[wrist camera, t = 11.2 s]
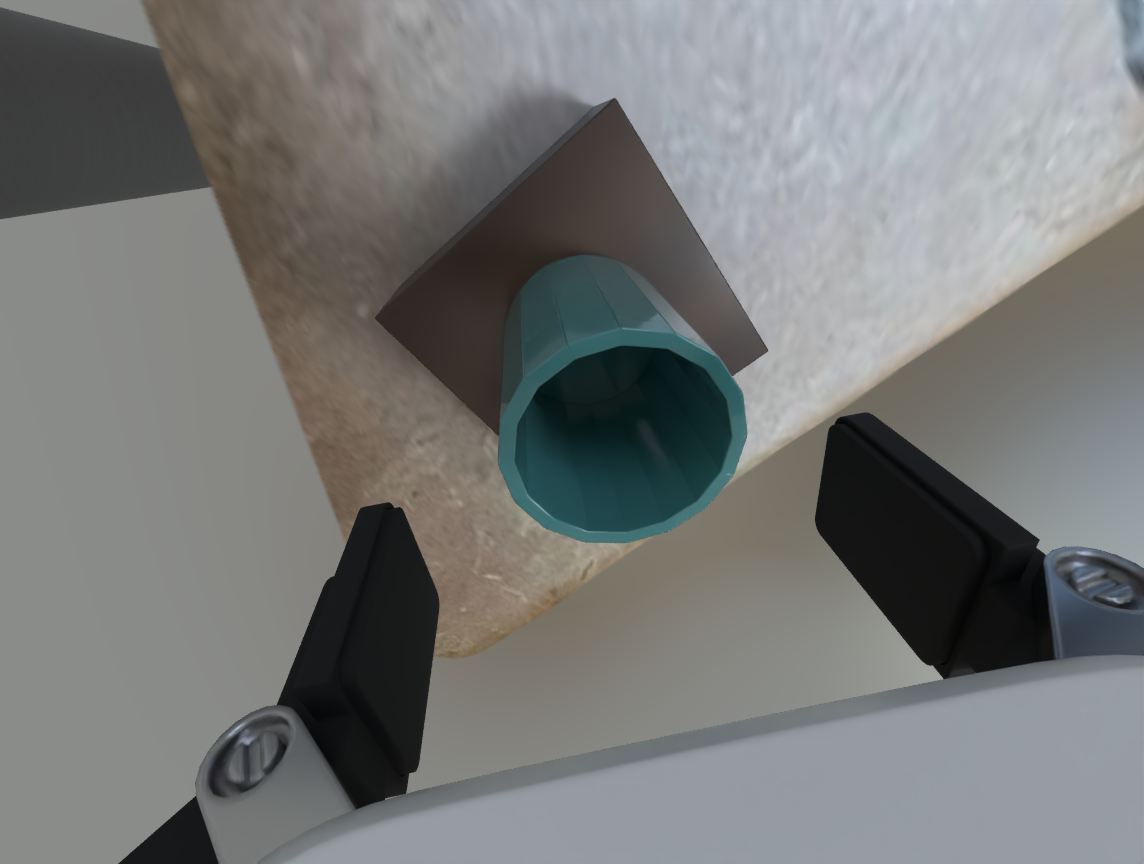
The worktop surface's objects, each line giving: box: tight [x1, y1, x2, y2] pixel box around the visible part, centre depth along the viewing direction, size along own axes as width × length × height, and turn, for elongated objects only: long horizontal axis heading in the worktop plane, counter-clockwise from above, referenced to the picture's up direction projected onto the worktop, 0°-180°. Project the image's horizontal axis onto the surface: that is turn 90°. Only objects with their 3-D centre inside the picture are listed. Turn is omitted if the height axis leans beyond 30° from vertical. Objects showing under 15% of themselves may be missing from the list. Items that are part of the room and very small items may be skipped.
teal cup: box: [498, 255, 747, 543], centre depth 17 cm, size 7×7×9 cm
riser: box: [375, 98, 768, 435], centre depth 23 cm, size 12×12×5 cm
